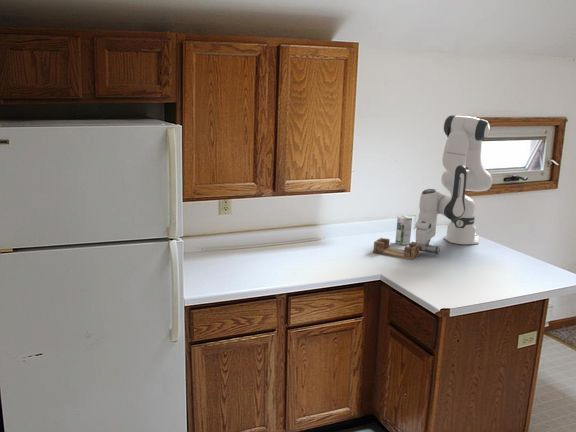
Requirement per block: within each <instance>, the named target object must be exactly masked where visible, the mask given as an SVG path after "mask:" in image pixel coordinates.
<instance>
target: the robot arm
mask: <svg viewBox="0 0 576 432" xmlns="http://www.w3.org/2000/svg"><path fill="white" fill-rule="evenodd" d="M446 117H447V116H446ZM490 127H491V126H490V123H489V122H488V120H486V119H482V118H477V117H473V116H465V115H455V114H454V115H449V116H448V117H447V118H446V119H445V120H444V124H443V132H444V134H445V135H446V138H447V139H446V142H445V146H444V148H443V153H442V165H443V167H444V169H445V171H443V173H442V175H441V179H440V180H441V184H442V186H443V187H444V188H445V190H447V191H448V192H449V194H450V196H449V195H446V194H445V193H442V192H440V191H438V189H435V188H427V189H424V190H423V191H422V192H421V194H420V199H419V204H418V205H419V207H418V208H419V213H418V219H417V221H416V223H415V226H414V227H415V228H416V230H415V242H416V243H417V244H421V250H425V249H426V246H425V244H428V245H430V243H431V240H432V238H434V237H435V236H436V231H437V230H436V229H437V220H438V215H441V216H443V217H446V218H447V219H448V220H450V222H449V223H448V224H447V228H446V234H445V235H444V236H443V237H442V239H443V240H446V241H448V243H453V244H456V245H457V244H458V245H478V244H479V243H480V240H479V239H480V236H479V235H477V233H476V229H477V227H476V225H475V222H476V221H475V210H476V209H475V208H476V202H475V200H474V199H472V198H471V197H469V196H468V195H467V194H466V191H467V192H468V191H469V192H485V191H486V192H487V191H488V190H490V188H491V187H492V185H493V176H492V175H491V173H490V172H488V171H487V170H486V169H485V168H484V166H483V164H482V160H481V159H482V158H481V156H482V155H481V153H482V144H483V141H485V140H486V139H487V138H488V135H489V133H490ZM467 168H468V169H467Z"/></svg>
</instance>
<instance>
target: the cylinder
mask: <svg viewBox="0 0 576 432" xmlns="http://www.w3.org/2000/svg"><path fill="white" fill-rule="evenodd" d="M410 243H415V244H416V245H417V243H416V241H410ZM425 246H426V249H425V250H421V244H420V248H419V252H421V253H428V254H432V255H433V254H434V255H440V252H441V246H438V245H434V244H429V245H428V244H425Z"/></svg>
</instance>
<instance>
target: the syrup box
mask: <svg viewBox="0 0 576 432" xmlns="http://www.w3.org/2000/svg"><path fill="white" fill-rule="evenodd" d="M412 222H413V217H410V216H407V215H398V216H397V221H396V231H395V243H396V244H398V245H400V246H404V245H406V246H407V245H409V244H410V243H411V235H412V224H413V223H412Z"/></svg>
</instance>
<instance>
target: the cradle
mask: <svg viewBox="0 0 576 432" xmlns="http://www.w3.org/2000/svg"><path fill="white" fill-rule="evenodd" d="M390 242H391V241H390V238H384V237H380V238H378V239H377V240H375V241H374V242H373V250H372V251H373V252H372V253H373V254H376V255H377V254H378V255H383V256H388V257H395V258H400V259H406V260H409V261H414V260H415V259H416V258H417V257H419V255H420V251H419V248H420V244H417V245H416V244H415V243H411V242H410V244H408V246H407V245H406V246H404V249H402V248H395V247H391V246H390Z"/></svg>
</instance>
